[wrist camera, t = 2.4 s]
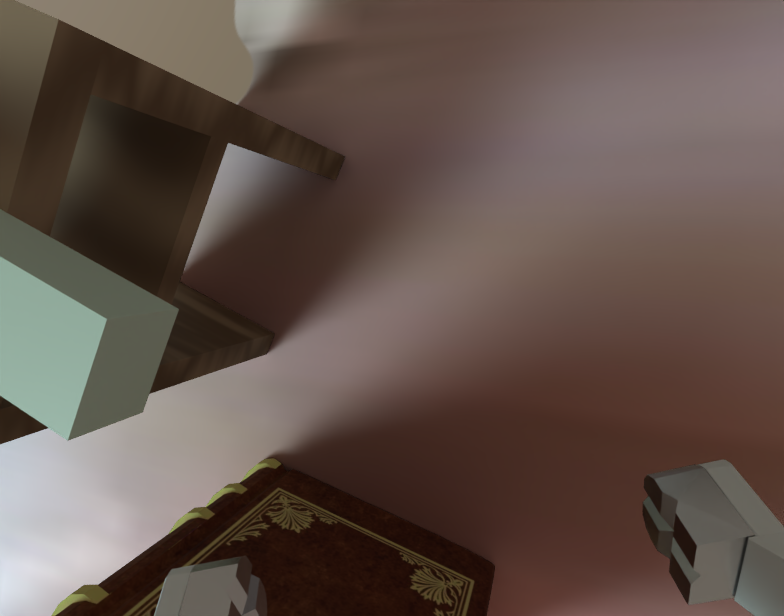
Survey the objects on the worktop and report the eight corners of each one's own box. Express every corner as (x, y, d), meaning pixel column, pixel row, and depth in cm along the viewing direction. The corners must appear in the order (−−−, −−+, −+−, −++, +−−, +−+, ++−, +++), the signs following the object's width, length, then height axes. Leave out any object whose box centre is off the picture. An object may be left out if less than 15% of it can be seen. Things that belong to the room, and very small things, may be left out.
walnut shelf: (234, 107, 45) (-153, -72, 21) (345, 156, 43) (58, 19, 18) (167, 299, 49) (-227, 342, 24) (266, 354, 47) (-61, 464, 22)
